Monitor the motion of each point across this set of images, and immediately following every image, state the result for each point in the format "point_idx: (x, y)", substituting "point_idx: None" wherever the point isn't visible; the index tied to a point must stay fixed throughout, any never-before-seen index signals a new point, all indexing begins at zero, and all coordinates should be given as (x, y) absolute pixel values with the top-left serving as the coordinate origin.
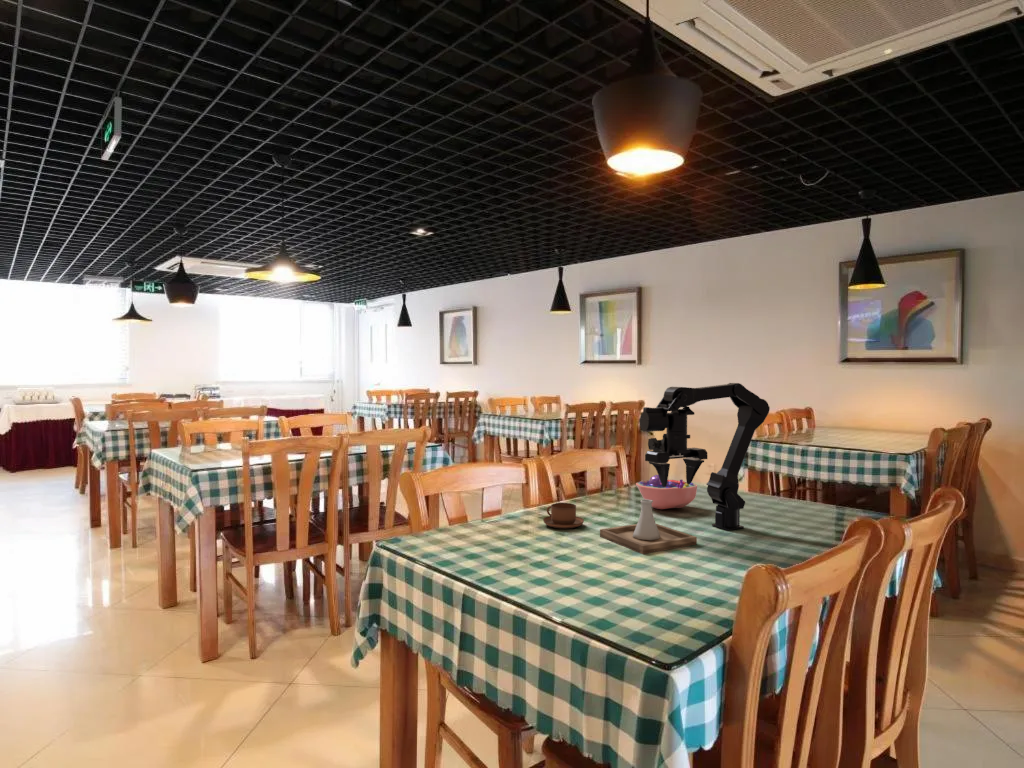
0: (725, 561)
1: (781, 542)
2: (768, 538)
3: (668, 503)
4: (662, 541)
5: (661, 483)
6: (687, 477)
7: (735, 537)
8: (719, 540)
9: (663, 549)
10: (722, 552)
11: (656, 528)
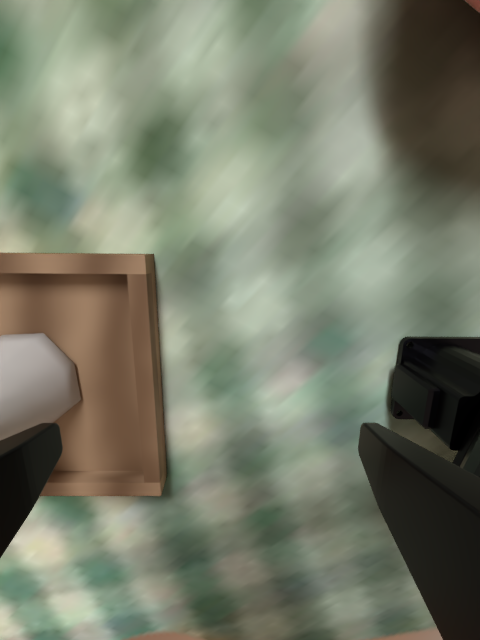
0: (129, 598)
1: None
2: None
3: (476, 6)
4: None
5: (15, 437)
6: (393, 474)
7: (341, 473)
8: (267, 474)
9: None
10: (180, 552)
11: (36, 423)
